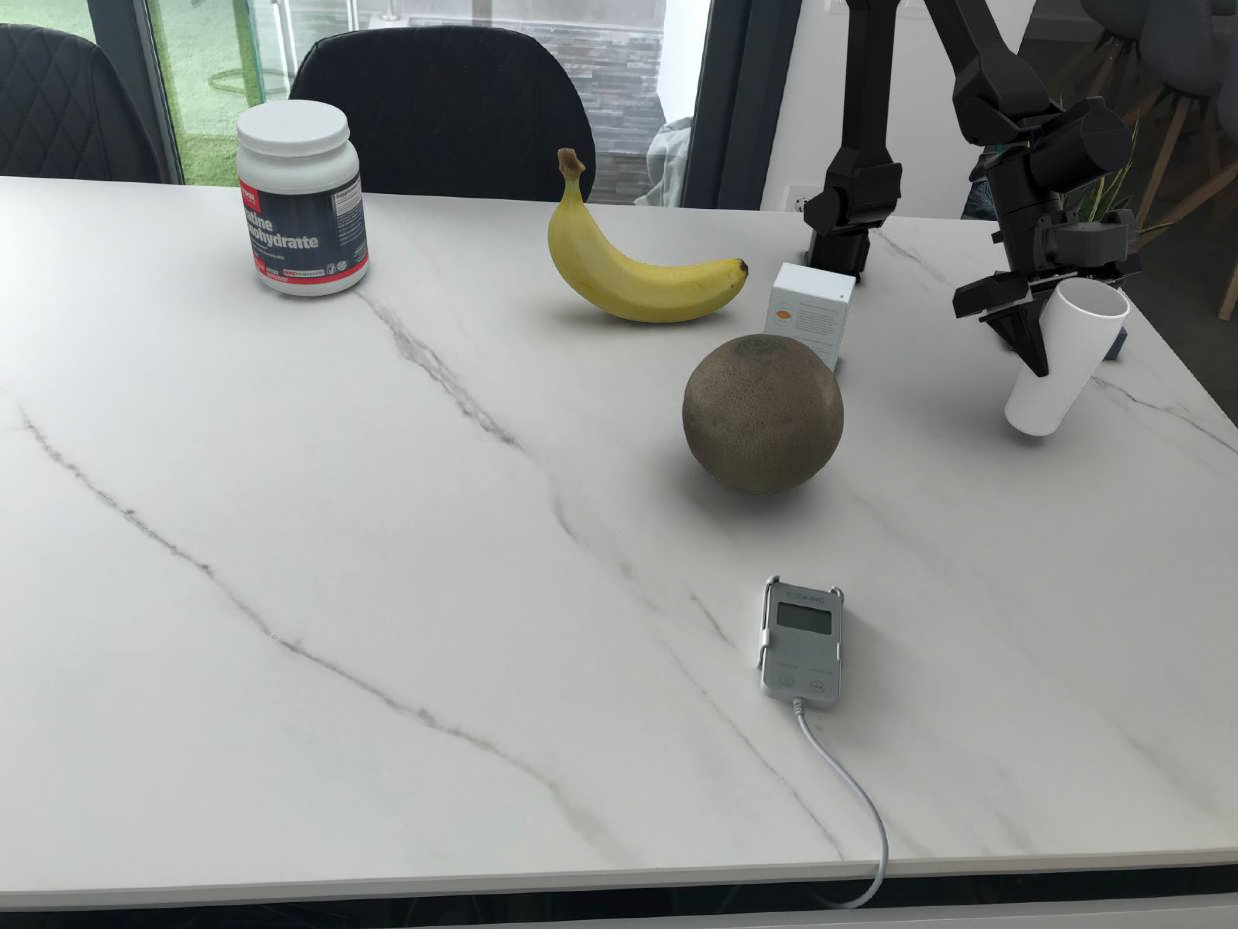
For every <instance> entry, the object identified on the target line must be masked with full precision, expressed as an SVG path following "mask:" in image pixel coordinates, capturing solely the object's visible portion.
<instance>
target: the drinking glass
mask: <svg viewBox="0 0 1238 929" xmlns="http://www.w3.org/2000/svg"><path fill="white" fill-rule="evenodd" d="M1130 312H1131V304H1130V301H1128V299H1127V298H1126V297H1125V296H1124V294H1122V293H1121V292H1120V291H1119V290H1115V289H1114V288H1112V287H1110V286H1108V285H1106V284H1104V283H1101V282H1099V281H1095V280H1092V279H1087V278H1077V277H1074V278H1067V279H1064V280H1062V281H1060V282H1059V283H1058V284H1057V286H1056V288H1055V290H1054V291H1053V293H1052V295H1051V297H1050V299H1049V301H1048V302H1047V304H1046V306H1045V308H1044V311H1043V313H1042V315H1041V317H1040V319H1039V323H1040V328H1041V332H1042V337H1043V342H1044V346H1045V351H1046V355H1047V361H1048V370H1049V375H1048V376H1045V377H1041V378H1039V377H1037V376H1036V375H1035V374H1034V373H1033V371H1032V370H1031V369H1030V368H1029V367H1028V366H1027V365H1026V363H1025V362H1024V361H1023V363H1022V365H1021V367H1020V370H1019V374H1018V376H1017V378H1016V381H1015V383H1014V386H1013V389H1012V391H1011V393H1010V396H1009V397H1008V400H1007V402H1006V404H1005V407H1004V416H1005V418H1006V421H1007V422H1008V423H1009V424H1010V425H1011V426H1012V427H1013V428H1014V429H1016V430H1017V431H1019V432H1020V433H1024V434H1026V435H1029V436H1033V437H1046V436H1049V435H1051V434H1053V433H1054V432H1056V431H1057V429H1058V428H1059V426H1060V424H1061V423H1062V421H1063V419H1064V417H1065V416H1066V414H1067V412H1068V411H1069V409H1071V407H1072V405H1073V404H1074V402H1075V400H1076V399H1077V398H1078V396H1079V395H1080V393H1081V392H1082V390H1083V389H1084V387H1085V386H1086V384H1087V383H1088V382H1089V380H1090V379H1091V377H1092V376H1093V374H1094V373H1095V371H1096V370H1097V369H1098V367H1099V366H1100V364H1101V363H1102V361H1104V359H1103V358H1104V357H1105V355H1106V354H1107V352H1108V351H1109V349H1110V348H1111V346H1112V345H1113V343H1114V341H1115V339H1116V338H1117V336H1118V334H1119V332H1120V330H1121V328H1122V326H1123V327H1124V324H1125V323H1126V320H1127V318H1128V316H1129V314H1130Z"/></svg>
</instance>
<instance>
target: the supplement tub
mask: <svg viewBox="0 0 1238 929" xmlns="http://www.w3.org/2000/svg"><path fill="white" fill-rule="evenodd" d="M235 127H236V139H237V141H238V143H239V144H240V146H239V147H238V150H237V152H236V154H235V155H236V156H235V170H236V173H237V178H238V183H239V188H240V193H241V200H242V204H243V209H244V214H245V219H246V226H247V229H248V235H249V241H250V243H251V250H252V256H253V261H254V266H255V267H254V269H255V271H256V273H257V275H258V277H259V278H260V279H261V281H262V282H263V283H264V284H265V285H267V286H268V287H270V288H271V289H273V290H275V291H277V292H279V293H283V294H287V295H291V296H298V297H319V296H327V295H331V294H336V293H339V292H342V291H345V290H346V289H348V288H351V287H352V286H354V285H356V283H358V282H359V281H360V280H361V279H363V277H364V276H365V275H366V273H367V271H368V269H369V265H370V255H369V247H368V246H369V245H368V236H367V228H366V221H365V220H366V219H365V210H364V201H363V192H362V182H361V173H360V160H359V156H358V153H357V150H356V148H355V146H354V145H353V143H352V142H351V141H350V140H349V138H350V136H351V130H350V128H349V124H348V118H347V115H346V114H345V113H344V112H343V111H342V110H341V109H339V108H338V107H336V106H334V105H332V104H329V103H325V102H321V101H316V100H309V99H284V100H274V101H269V102H264V103H260V104H257V105H254V106H252V107H250V108H248V109H246V110H244V111H243V112H241V113H240V114H239V116H237V118H236V121H235Z"/></svg>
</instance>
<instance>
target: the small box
mask: <svg viewBox="0 0 1238 929" xmlns="http://www.w3.org/2000/svg"><path fill="white" fill-rule="evenodd" d="M855 281H856V277H852V276H847V275H842V274H838V273H833V272H828V271H823V270H819V269H814V268H809V267H806V266H805V265H799V264H794V263H791V262H790V263H789V262H785V261H784V262H782V265H781V266H780V269H779V271H778V273H777V275H776V277H775V279H774V281H773V284H772V285H771V289H770V296H769V302H768V309H767V313H766V317H765V324H764V328H763V334H769V335H778V336H785V337H790V338H793V339H795V340H797V341H799V342H802V343H803V344H805V345H806V346H808V347H809V348H810V349H812V350H813V351H814V352H815V353H816V354H817V355H818V356H819V357H820V359H821V360H822V361H823V362H824V364H825V365H826V366H827V367H828V368H830V370H831V371H832V373H833V374H834V371H835V368H836V365H837V361H838V358H839V354H840V350H841V345H842V342H843V337H844V333H845V329H846V325H847V321H848V316H849V311H850V307H851V303H852V298H853V294H854V290H855V285H856V283H855Z"/></svg>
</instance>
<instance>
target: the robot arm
mask: <svg viewBox="0 0 1238 929" xmlns="http://www.w3.org/2000/svg"><path fill="white" fill-rule="evenodd" d="M844 1H845V3H846V5H847V7H848V28H847V45H846V46H847V47H846V62H845V80H844V81H845V82H844V94H843V96H844V98H843V113H842V127H841V128H842V129H841V142H840V147H839V149H838V151H837V152H836V154H835V155H834V157H833V159H832V160H831V162H830V163H829V165H828V167H827V169H826V171H825V178H824V184H823V190H822V191H821V192H820V193H818V194H817V195H815V196H814V197H812V198H811V199H809V200H807V201H805V203H803V208H802V209H803V222H804V223H805V224H806V225H808V226H809V227H810V228H811V229H812V231H811V236H810V241H809V245H808V246H809V247H808V249H807V250H806V251H805V252H804V262H805V267H809V268H814V269H819V270H823V271H828V272H833V273H838V274H842V275H847V276H852V277H856V281H855V284H860V283H861V281H862V277H861V273H863V272H865V268H866V264H867V260H868V256H869V252H870V248H871V244H872V243H871V240H870V237H869V234H870V231H869V230H871V229H872V230H873V229H880V228H882V227H883V225H884V223H885V222H886V221H887V219H888V218H889V217H890V216H891V214H892V213H894V212H895V210H896V208H897V205H898V200H899V199H902V191H901V183H902V178H903V171H904V168H903V165H902V163H901V162H899V161H898V162H894V160H893V157H892V156H891V154H890V152H889V150H888V148H887V134H888V133H887V132H888V121H889V109H890V95H891V83H892V71H893V61H894V60H893V58H894V45H895V33H896V22H897V12H898V6H899V5H900V3H901V1H902V0H844ZM923 3H924V5H925V7H926V9H927V12H928V13H929V16H930V18H931V21H932V23H933V25H934V28H935V30H936V32H937V35H938V37H939V39H940V41H941V44H942V46H943V49H944V51H945V53H946V56H947V57H948V60H949V62H950V65H951V67H952V70H953V73H954V85H953V90H952V97H951V101H952V104H953V108H954V112H955V116H956V119H957V120H956V121H957V123H958V126H959V130H960V133H961V135H962V137H963V138H964V140H965V142H967V143H968V145H973V146H976V147H979V148H983V147H989V146H994V145H995V146H997V145H1000V146H1004V145H1010V144H1016V143H1017V144H1018V143H1024V142H1025V143H1026V142H1028V143H1029V146H1027V145H1026V146H1025V145H1013V146H1010V147H1009V148H1006V149H1005V150H1004V151H1001V152H1000V153H999V152H998V151H990V152H984V153H980V154H979V155H978V159H977V162H976V164H975V166H974V167H973V168H972V170H971V171H970V173H969V176H968V181H969V183H977V182H983V181H986V183H987V187H988V190H989V193H990V198H991V201H992V205H993V208H994V213H995V217H996V220H997V225H998V228H999V230H997V231H995V232H993V233H991V234H990V236H991V240H992V244H993V245H995V244H1001V243H1003V247H1004V250H1005V255H1006V259H1007V263H1008V267H1009V271H1007V272H1006V273H1001V274H997V275H994V274H993V275H988V276H985V277H983V278H981V279H978V280H975V281H972V282H970V283H967V284H964V285H962V286H959V287H956V289H955V290H954V294H953V297H952V299H951V303H952V308H953V311H954V315H955V319H956V320H958V319H963V318H968V317H971V316H976V315H979V314H982V313H983V311H985V310H986V313H987V314H986V315H983V316H980V317H978V318H977V320H978V322H979V323H980V324H982V323H985V324H987V325H988V326H989V327H990V328H991V329H992V330H993V331H994V332H995V333H996V334H997V335H999V337H1000V338H1002V340H1003V341H1005V343H1006V342H1007V343H1008V344H1009V345H1010V346H1011V348H1012V349H1013V350H1012V351H1014V352H1015V354H1017V356H1018V357H1019V358H1020V359H1021V360H1022V361H1023V362H1025V363H1026V365H1027V366H1028V367H1029V368H1030V369H1031V370H1032V371H1033V373H1034V374H1035V375H1036V376H1037V377H1039V378H1041V377H1045V376H1048V375H1049V370H1048V361H1047V355H1046V351H1045V346H1044V342H1043V337H1042V332H1041V328H1040V323H1039V316H1040V313H1041V310H1042V307H1043V304H1044V301H1045V298H1044V299H1040V300H1035V301H1033V297H1032V295H1033V294H1037V293H1041V292H1046V291H1050V290H1054V289H1055V288H1056V286H1057V284H1058V283H1059V282H1060V281H1062V280H1064V279H1067V278H1074V277H1077V278H1087V279H1092V280H1095V281H1099V282H1101V283H1104V284H1106V285H1108V286H1110V287H1112V288H1114V289H1115V290H1117V291H1119V288H1121V287H1124V286H1125V284H1126V281H1127V280H1126V279H1124V278H1127V277H1130V276H1133V275H1136V274H1139V273H1143V272H1144V268H1143V265H1142V262H1141V257H1140V252H1138V251H1137V250H1135V249H1133V247H1130V246H1133V245H1134V244H1136V242H1137V241H1138V240H1139V239H1140V232H1139V227H1138V223H1137V220H1136V218H1135V214H1134V213H1133V209H1131V208H1130V209H1129V208H1128V209H1127V208H1118V209H1113V210H1107V211H1105V212H1103V215H1102V217H1101V219H1100V220H1096V221H1092V222H1091V221H1090V222H1081V220H1080V219H1079V218H1080V217H1079V214H1078V212H1077V211H1076V210H1075V208H1074V207H1069V208H1063V204H1062V201H1061V197H1060V195H1061V194H1063V195H1065V194H1069V193H1071V192H1072V193H1073V192H1074V191H1076V190H1078V189H1081V188H1083V187H1085V186H1087V185H1088V186H1089V185H1090V184H1092V183H1094V182H1096V181H1098V180H1101V179H1103V178H1106V177H1108V176H1110V175H1112V174H1114V173H1116V172H1119V171H1121V170H1122V169H1123V170H1124V169H1125V167H1126V166H1127V165H1128V164H1129V162H1130V161H1131V159H1132V156H1133V153H1134V152H1133V151H1134V140H1133V135H1132V131H1131V129H1130V128H1129V127H1127V126H1126V124H1125V122H1124V121H1123V120H1122V118H1121V117H1120V116H1119V115H1118V114H1117V113H1115V111H1113V110H1111V109H1109V108H1107V107H1106V104H1105V99H1104V97H1103V96H1102V95H1097V96H1091V97H1090V96H1089V97H1084V98H1082V99H1081V100H1079V101H1077V102H1076V103H1074V104H1073V105H1071V106H1070V108H1068V109H1067V110H1066V109H1065V108H1063V106H1061V105H1060V104H1059V103H1058V102H1056V101H1054V99H1052V98H1050V97H1049V92H1048V90H1047V88H1046V87H1045V85H1044V84H1043V82H1042V81H1041V79H1040V77H1038V75H1037V73H1036V72H1035V71H1034V69H1033V67H1032V66H1031V65H1030V64H1029V63H1028V62H1027V61H1025V60H1024V59H1023V58H1021V57H1020V56H1019V55H1017V54H1016V53H1015V52H1014V51H1012V50H1011V49H1010V48H1009V46H1008V45H1007V44H1006V43H1005V42H1006V41H1004V39H1003V37H1002V34H1001V32H1000V30H999V28H998V26H997V23H996V21H995V18H994V16H993V15H992V12H991V10H990V7H989V5H988V3H987V0H923ZM1053 276H1055V277H1053ZM1038 277H1039V280H1037V281H1034V280H1033V279H1034V278H1038ZM1118 280H1119V281H1118ZM1007 343H1006V344H1007Z"/></svg>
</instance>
